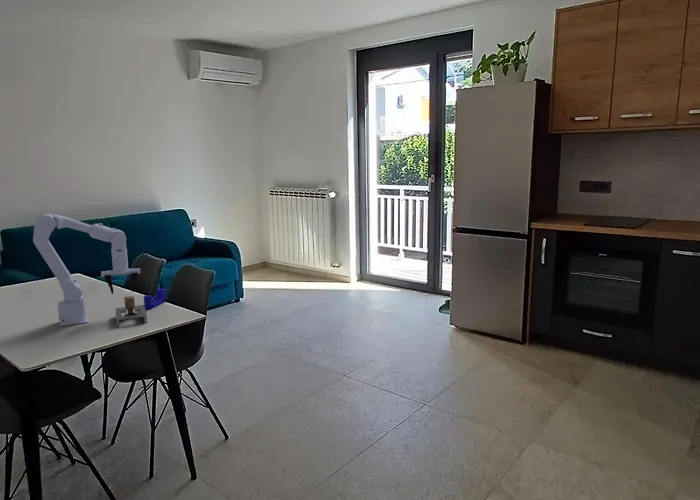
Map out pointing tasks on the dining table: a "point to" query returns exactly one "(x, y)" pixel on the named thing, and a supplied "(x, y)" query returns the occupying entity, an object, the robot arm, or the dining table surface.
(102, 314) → the dining table surface
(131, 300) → the peg
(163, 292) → the blue curved bracket
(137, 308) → the notched window frame
